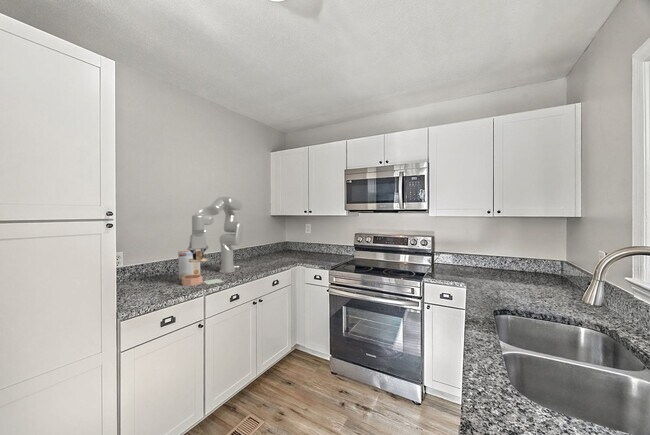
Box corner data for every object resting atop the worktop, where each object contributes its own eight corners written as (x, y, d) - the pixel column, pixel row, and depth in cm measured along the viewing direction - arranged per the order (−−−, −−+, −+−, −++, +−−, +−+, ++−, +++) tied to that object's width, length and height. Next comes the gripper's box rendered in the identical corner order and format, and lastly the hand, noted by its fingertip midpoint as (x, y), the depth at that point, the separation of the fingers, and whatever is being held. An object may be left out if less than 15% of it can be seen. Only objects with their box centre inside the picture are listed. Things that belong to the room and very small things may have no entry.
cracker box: (198, 276, 208) (198, 249, 207) (200, 277, 203) (200, 250, 203) (178, 279, 199) (178, 251, 199) (180, 280, 195) (179, 252, 194)
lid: (204, 258, 195) (204, 249, 195) (210, 260, 186) (210, 251, 186) (186, 260, 186) (186, 251, 186) (192, 263, 178) (191, 253, 178)
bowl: (198, 280, 194) (198, 273, 194) (204, 284, 185) (203, 276, 185) (180, 283, 186) (180, 276, 186) (185, 287, 177) (185, 279, 177)
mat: (218, 279, 198) (218, 278, 198) (224, 282, 190) (224, 281, 189) (202, 282, 190) (202, 281, 190) (207, 285, 182) (207, 284, 182)
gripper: (208, 231, 195) (208, 256, 195) (183, 232, 183) (183, 259, 183) (212, 232, 189) (212, 258, 189) (186, 233, 178) (186, 260, 178)
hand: (198, 258), depth 186 cm, fingers closed on lid, 4 cm apart
